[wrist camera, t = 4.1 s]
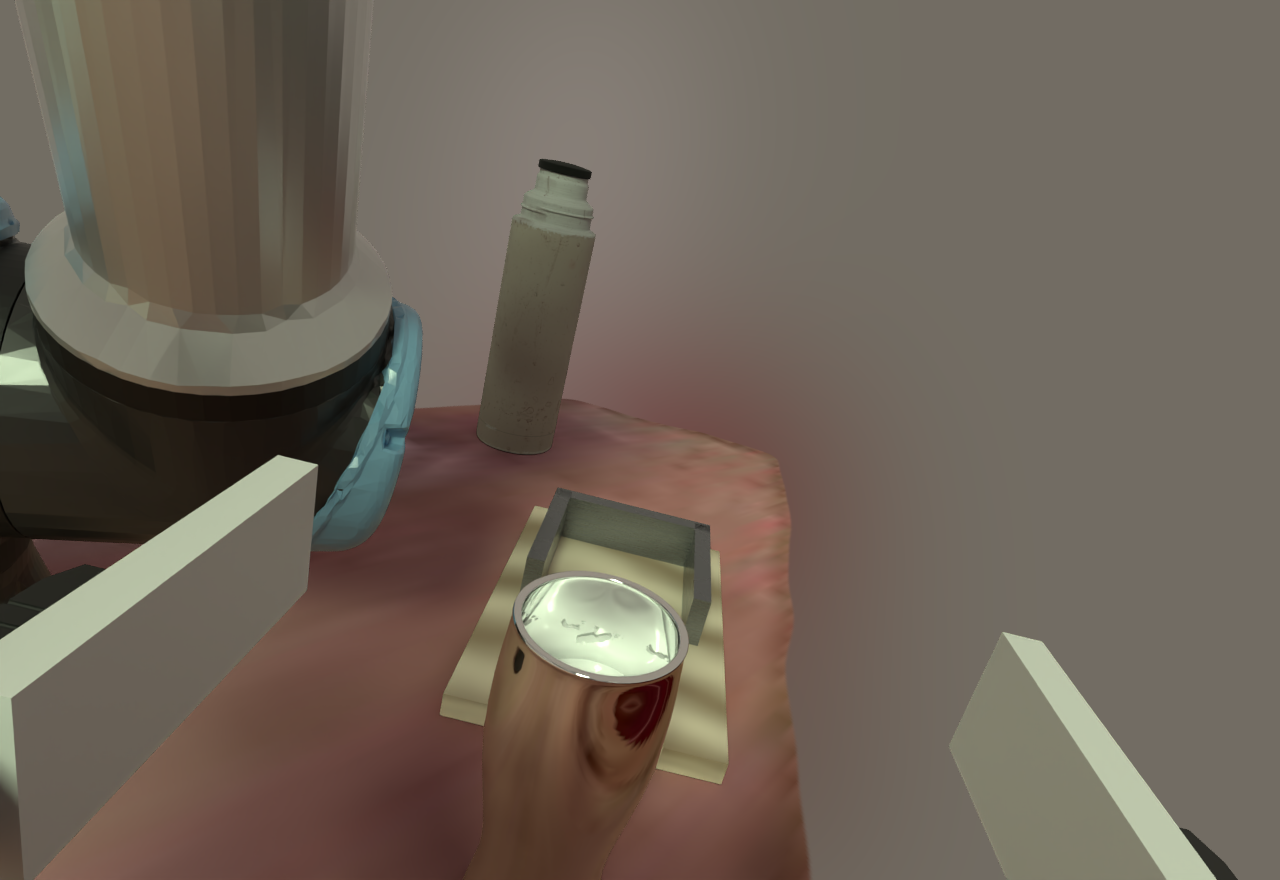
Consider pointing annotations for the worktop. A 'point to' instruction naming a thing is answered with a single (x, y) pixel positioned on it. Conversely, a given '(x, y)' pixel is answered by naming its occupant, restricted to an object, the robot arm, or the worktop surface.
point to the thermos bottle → (537, 311)
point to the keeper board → (701, 694)
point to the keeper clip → (629, 544)
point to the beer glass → (574, 724)
